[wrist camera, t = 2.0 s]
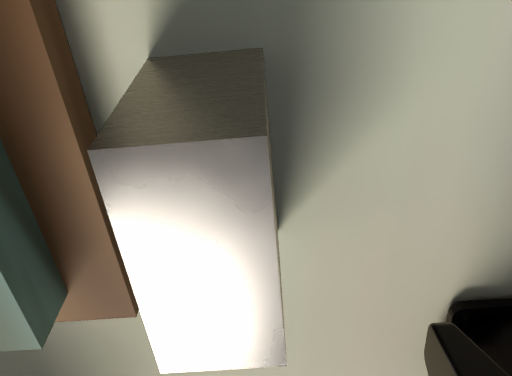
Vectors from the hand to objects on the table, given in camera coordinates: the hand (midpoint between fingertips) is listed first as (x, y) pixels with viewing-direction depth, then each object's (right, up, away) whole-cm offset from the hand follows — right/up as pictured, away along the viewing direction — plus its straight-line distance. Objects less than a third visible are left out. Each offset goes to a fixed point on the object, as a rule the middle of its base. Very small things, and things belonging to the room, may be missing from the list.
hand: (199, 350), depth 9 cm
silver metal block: (0, +4, +7) cm, 8 cm away
